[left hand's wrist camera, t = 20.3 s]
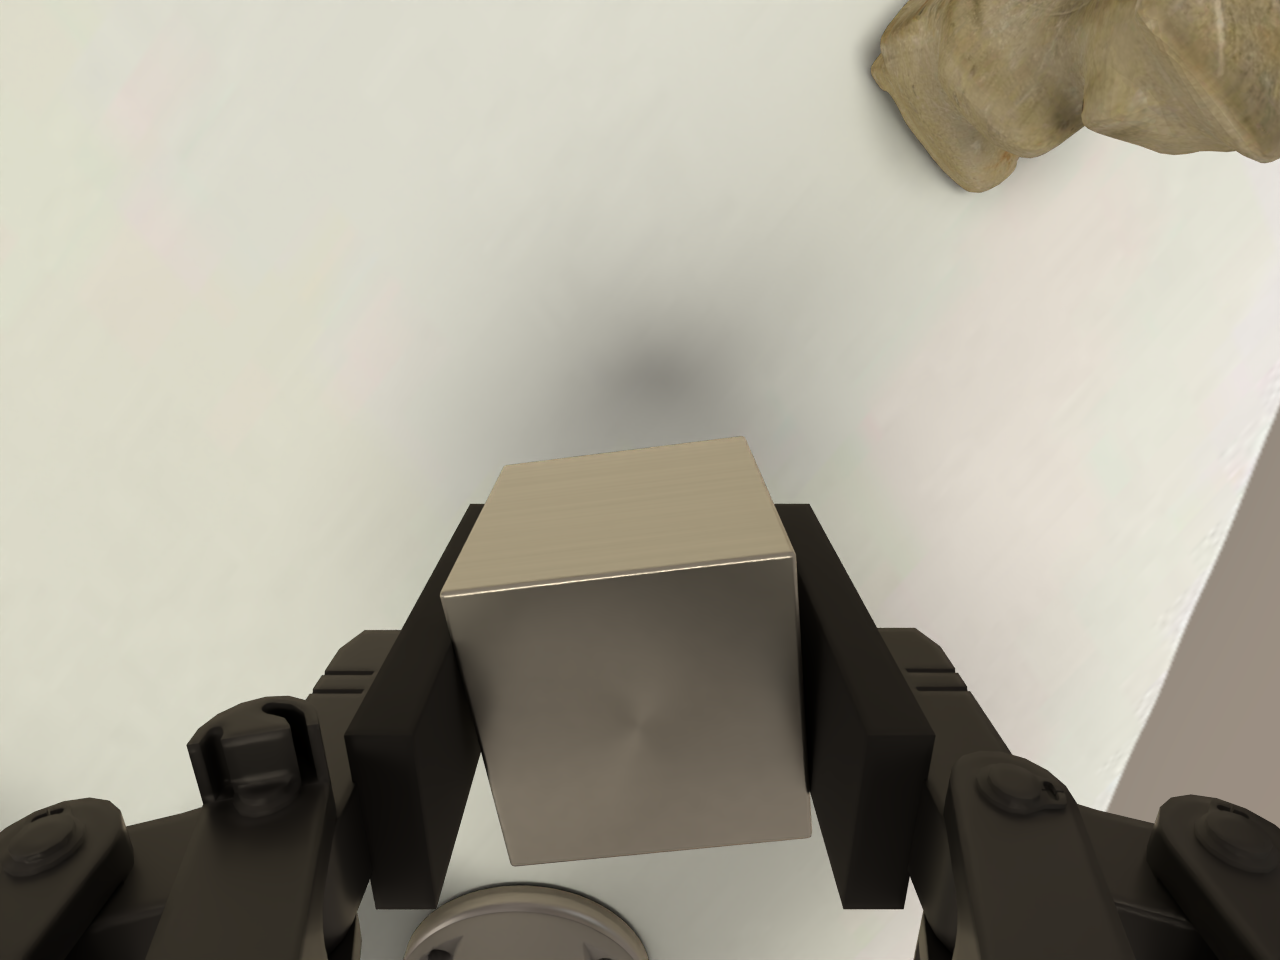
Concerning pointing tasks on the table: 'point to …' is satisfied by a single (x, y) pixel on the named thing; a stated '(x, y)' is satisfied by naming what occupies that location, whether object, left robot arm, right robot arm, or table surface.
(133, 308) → the table surface
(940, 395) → the table surface
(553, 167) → the table surface
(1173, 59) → the sculpture
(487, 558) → the metal cube
